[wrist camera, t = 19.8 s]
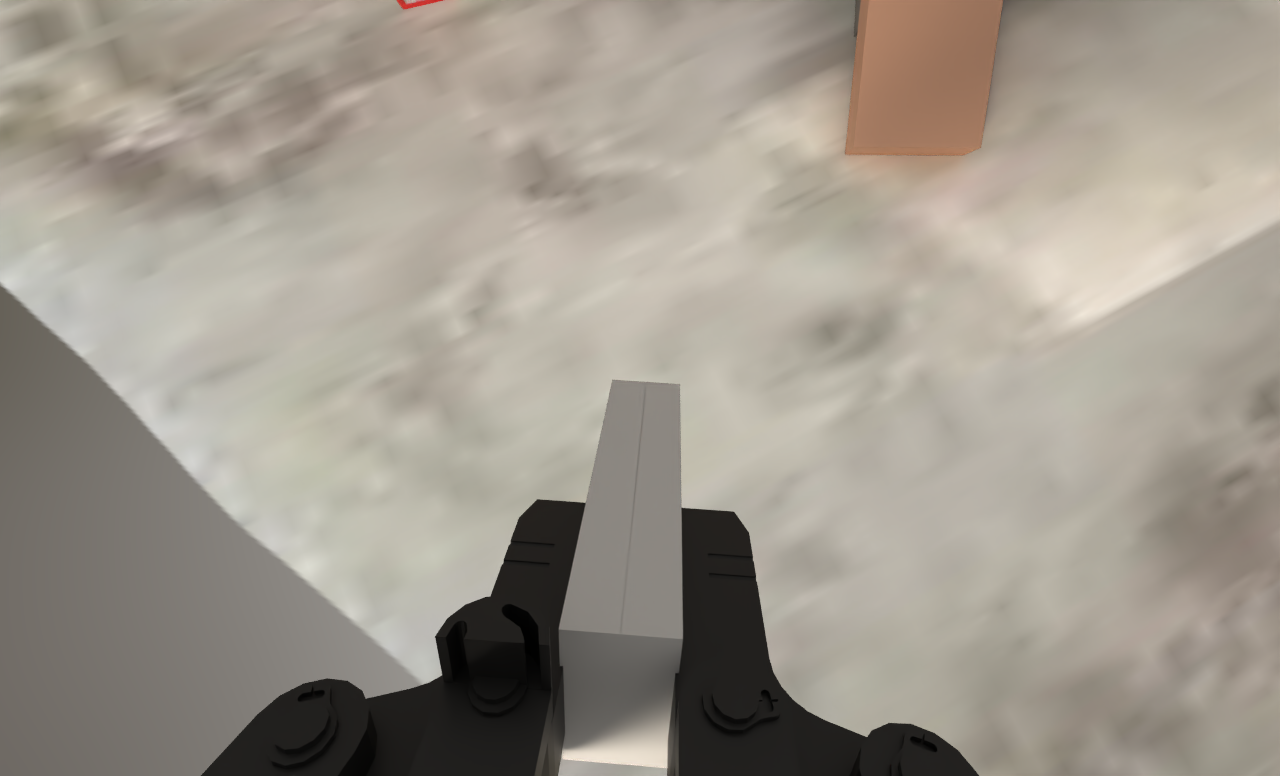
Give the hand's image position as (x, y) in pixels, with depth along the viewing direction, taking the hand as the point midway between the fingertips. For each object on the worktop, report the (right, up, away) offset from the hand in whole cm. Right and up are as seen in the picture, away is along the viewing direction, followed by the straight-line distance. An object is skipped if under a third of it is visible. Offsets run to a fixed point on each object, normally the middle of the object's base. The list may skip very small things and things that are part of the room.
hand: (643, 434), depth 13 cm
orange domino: (+12, +12, +12) cm, 21 cm away
